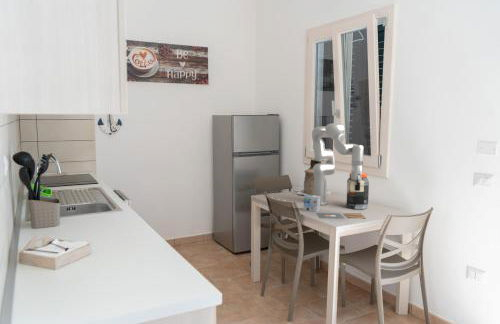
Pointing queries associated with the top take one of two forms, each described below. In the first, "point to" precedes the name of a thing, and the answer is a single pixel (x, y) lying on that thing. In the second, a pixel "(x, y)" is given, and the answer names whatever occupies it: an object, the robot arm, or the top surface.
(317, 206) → the light bulb box
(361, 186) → the birch block
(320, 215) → the mat
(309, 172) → the burlap sack
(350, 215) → the walnut pad
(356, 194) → the supplement tub
